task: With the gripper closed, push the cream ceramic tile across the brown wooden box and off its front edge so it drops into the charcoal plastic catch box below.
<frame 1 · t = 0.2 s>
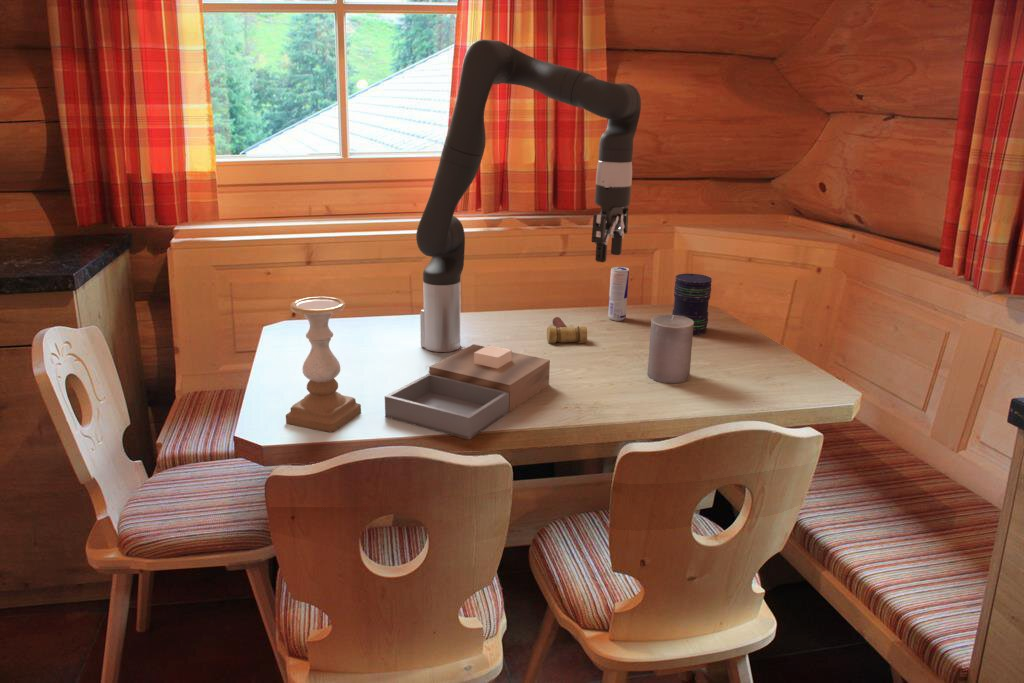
hand: (608, 258, 174), 29 cm above the table, fingers open, 8 cm apart
storage jar: (688, 330, 222), on the table
tile: (492, 361, 176), point 6 cm above the table, touching brown wooden box
gavel: (561, 334, 218), on the table
catch box: (447, 414, 163), on the table
beverage can: (616, 319, 230), on the table
candle holder: (324, 418, 160), on the table
brown wooden box: (490, 388, 177), on the table
pillar candle: (667, 377, 187), on the table
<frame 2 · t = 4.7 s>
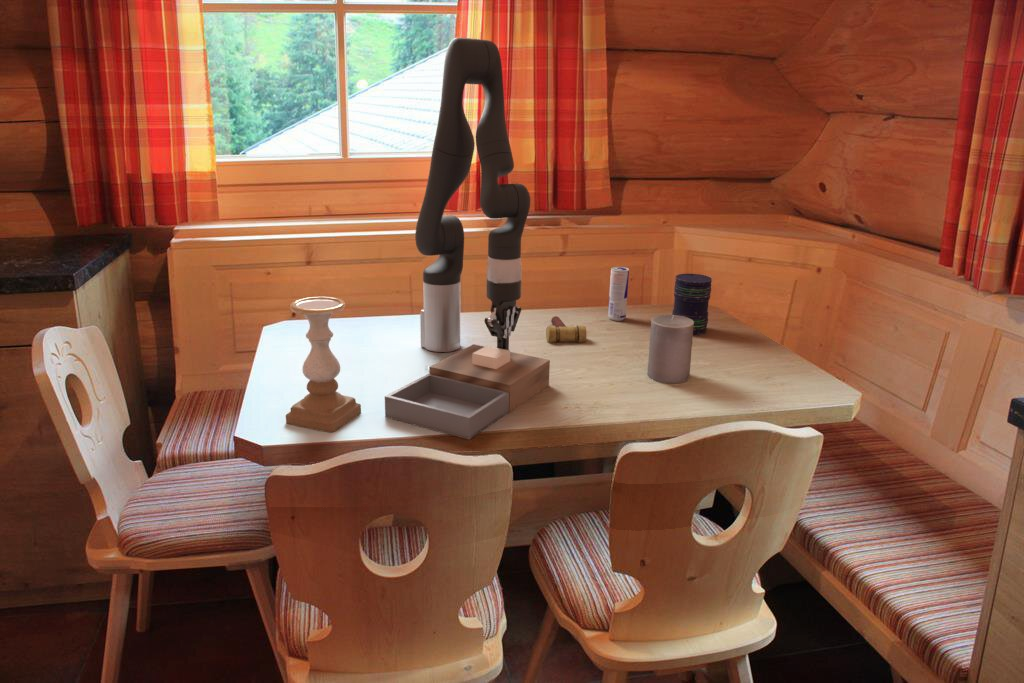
hand: (502, 352, 179), 7 cm above the table, fingers closed
tile: (491, 362, 175), point 6 cm above the table, touching gripper
everything else where it was.
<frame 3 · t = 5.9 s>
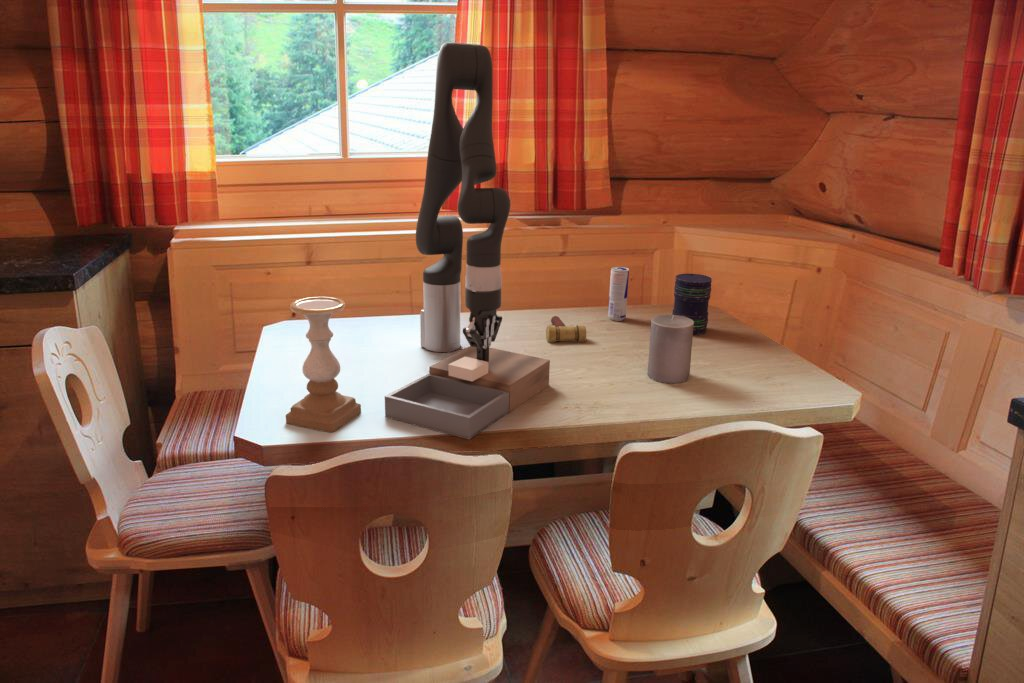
hand: (482, 363, 171), 7 cm above the table, fingers closed
tile: (468, 374, 168), point 6 cm above the table, touching brown wooden box, gripper
everything else where it was.
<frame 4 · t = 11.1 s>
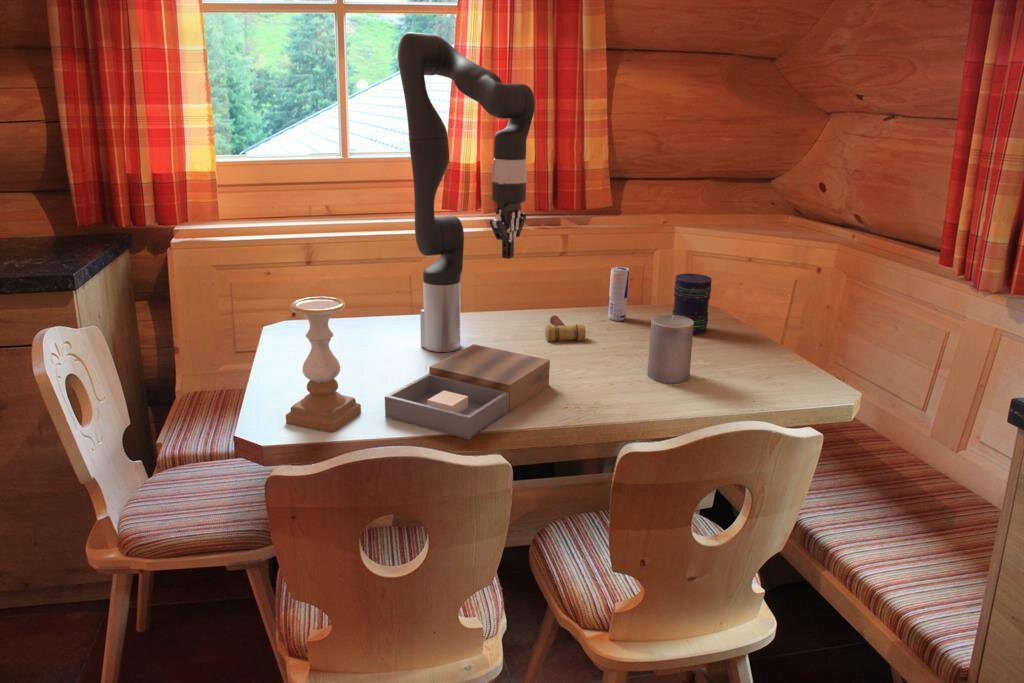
hand: (507, 257, 180), 27 cm above the table, fingers closed
tile: (447, 398, 163), point 3 cm above the table, tilted 180°, touching catch box
at the end: tile inside the target area (1.3 cm from its centre), point 3.1 cm above the table; the gripper is holding nothing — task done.
